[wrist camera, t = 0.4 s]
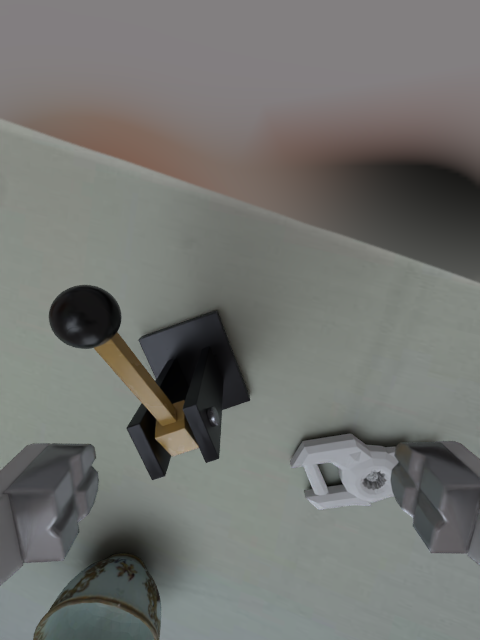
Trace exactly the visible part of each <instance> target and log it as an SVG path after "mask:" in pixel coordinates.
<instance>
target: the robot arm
mask: <svg viewBox="0 0 480 640" xmlns="http://www.w3.org/2000/svg"><path fill="white" fill-rule="evenodd" d="M394 456H395V458H396V459H397V461H398V463H397V465H396V466H395V467H394V468H393V469H392V472H391V480H390V481H391V486H392V492H393V494H394V496H395V499H396V501H397V502H398V504H399V506H400V507H401V509H402V510H404V511H405V512H406V513H408V514H409V515H411V516H412V517H413V527H414V528H415V530H416V531H417V533H418V534H419V536H420V537H421V539H422V540H423V542H424V543H425V545H426V546H427V548H428V549H429V551H430V552H431V553H468V556H469V557H470V558H471V559H472V560H474V561H475V562H476V563H477V564H479V565H480V459H479V458H478V457H477V456H475V455H474V454H473V453H472V452H470V451H469V450H468V449H467V448H466V447H464V446H463V445H462V444H461V443H458V442H456V441H436V442H408V443H398V445H397V446H396V449H395V454H394ZM95 459H96V454H95V448H94V446H93V445H91V444H58V443H53V444H49V443H33V444H30V445H27V446H26V447H25V448H24V449H23V450H22V451H21V452H20V453H18V454H17V455H16V456H15V457H14V458H13V459H12V460H11V461H10V462H9V463H8V464H7V465H6V466H5V467H4V468H3V469H2V470H1V471H0V585H2V584H3V583H4V582H5V581H6V580H7V579H8V578H9V577H11V576H12V575H13V574H14V573H15V572H16V571H17V570H18V569H20V568H21V567H22V566H23V563H31V562H50V561H64V559H65V557H66V555H67V553H68V552H69V550H70V548H71V546H72V544H73V542H74V540H75V539H76V537H77V535H78V533H79V525H78V522H79V521H80V520H82V519H83V518H84V517H85V516H87V515H88V514H89V512H90V510H91V509H92V507H93V505H94V502H95V499H96V495H97V492H98V483H99V479H98V472H97V471H96V470H95V469H94V468H93V467H92V466H91V465H92V464H93V462H94V460H95Z"/></svg>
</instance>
